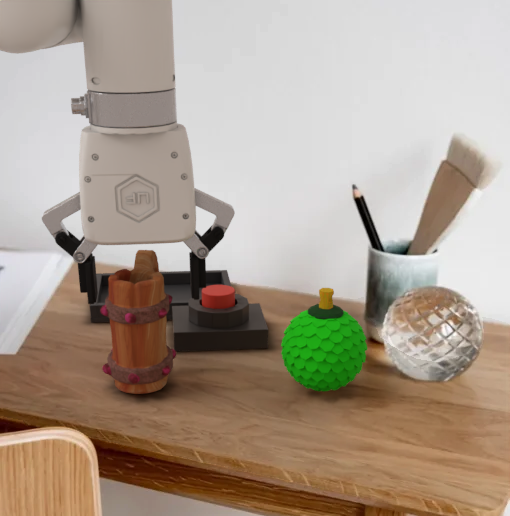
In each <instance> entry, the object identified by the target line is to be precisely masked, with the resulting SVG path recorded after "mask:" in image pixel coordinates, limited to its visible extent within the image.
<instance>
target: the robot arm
mask: <svg viewBox="0 0 510 516" xmlns="http://www.w3.org/2000/svg"><path fill="white" fill-rule="evenodd" d="M173 17H174V16H173V0H0V52H4V53H9V54H25V53H26V54H27V53H31V52H37V51H40V50H47V49H51V48H55V47H59V46H60V47H61V46H65V45H71V44H76V43H83V54H84V67H85V69H84V70H85V79H86V81H85V82H86V93H84V94H83V95H82V96H81V95H80V96H79V97H71V98H70V107H71V114H72V115H80V116H81V117H83V116H85V119H88V123H89V125H87V126H85V127H83V128H82V129H81V134H80V139H79V140H80V141H79V151H78V152H79V154H78V156H79V157H78V172H79V173H78V174H79V175H78V177H79V178H78V179H79V191H78V192H77V193H75V194H73V195H71V196H70V197H68V198H66V199H64V200H63V201H60V202H58V203H57V204H55V205H54V206H52V207H50V208H48V209H46V210H45V211H44V212H43V214H42V216H41V221H42V223H43V224H44V226H45V227H46V229H47V230H48V232H49V234H50V235H51V236H52V237H53V239H54V241H55V243H56V245H57V246H58V247H59V248H61V249H62V250H63V251H64V252H66V253H67V254H68V255H69V256H70V257H72V259H73V261H74V262H75V263H76V264H77V271H78V281H79V282H78V283H79V292H80V294H87V295H86V297H87V304H88V305H90V304H94V303H95V302H96V300H97V295H98V289H97V277H96V274H97V267H96V265H97V264H96V256H95V255H93V252H94V251H95V249H96V248H97V247H98V246H127V245H131V246H132V245H157V244H175V243H184V244H185V245H186V246H187V247H188V249H189V250H190V252H189V254H188V255H189V271H190V283H191V295H192V298H194V300H199V288H206V271H207V268H206V265H207V264H206V262H207V261H206V258H207V257H208V256H209V255H210V252H211V251H212V250H213V249H214V248H216V246H217V245H218V244H220V242H221V241H222V240H223V239H224V237H225V233H226V232H227V230H228V228H229V226H230V224H231V223H232V221H233V218H234V217H235V210H234V206H233V205H231V204H229V203H227V202H226V201H224V200H221V199H219V198H217V197H215V196H213V195H211V194H209V193H206V192H205V191H202V190H200V189H198V188H196V187H195V180H194V179H195V178H194V167H193V159H192V151H191V146H190V140H189V137H188V132H187V128H186V127H185V125H184V124H181V123H178V114H177V112H178V111H177V92H176V89H177V88H176V65H175V45H174V44H175V43H174V41H175V40H174V21H173ZM197 207H198V208H200V209H202V210H204V211H206V212H209V213H210V214H213V215H214V216H215V219H214V221H213V223H212V225H210V227H209V228H208V229H207V230H206V231H205V232H204V233H203V234H201V233H199V231H198V230H197V229H196V227H197ZM79 211H80V219H81V226H82V227H81V229H82V234H83V235H82V237H81V238H80V239H79V238H78V237H77V236H75V235H74V233H72V232H71V231H69V230H68V229H67V228H66V226H65V224H64V222H63V220H65V219H67V218H68V217H69V216H72V215H73V214H76V213H77V212H79Z"/></svg>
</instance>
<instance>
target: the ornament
mask: <svg viewBox="0 0 510 516" xmlns="http://www.w3.org/2000/svg"><path fill="white" fill-rule="evenodd" d="M334 294H335V291H334V288H331V287H321V288H320V289H318V295H319V302H318V303H316V304H314V305H312V306H310V307H309V308H308V309H306V310H303V311H301V312H299V314H298V315H296V316H294V317H293V318H292V319H291V320H290V321H289V323H290V324H288V326H287V327H286V328H285V330H284V331H283V335H284V336H283V337H282V338H281V343H280V344H281V345H280V347H281V352H280V354H281V357H282V360H283V366H284V367H285V369H286V371H287V372H288V373H289V375H290V377H291V378H293V380H294V381H295V382H296V383H299V384H300V385H301V386H303V387H304V388H306V389H307V390H309V389H311V390H313V391H315V392H329V391H338V390H339V389H340V388H342V387H344V388H345V387H346V386H347V385H348V384H349V383H351V382H353V381H355V378H356V376H357V375H360V373H361V371H362V369H363V364H364V363H365V364H366V358H367V354H366V351H368V344H367V342H366V341H367V337H366V335H365V331H364V330H363V327H362V325H360V323H359V321H358V320H356V318H354V317H353V316H352V315H351V314H349V312H348V311H346V310H344V309H342V308H341V307H340V306H338V305H336V304H334V301H333V296H334Z"/></svg>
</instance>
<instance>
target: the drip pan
mask: <svg viewBox="0 0 510 516" xmlns="http://www.w3.org/2000/svg"><path fill="white" fill-rule="evenodd" d="M159 272H160V273H161V274H162V275H163V277H164V292H165V293H167V294H169V295H171V296H172V302H171V304H170V305H169V311H168V313H167V314H166V318H167V321H173V319H172V306H188V300H189V299H191V298H192V295H191V283H190V270H177V271H176V270H174V271H173V270H171V271H159ZM114 274H115V272H105V273H104V272H103V273H101V272H100V273H96V277H97V289H98V295H97V300H96V302H95V303H94V304H89V314H90V315H89V316H90V323H110V318H108V317H107V316H104V315H102V314H101V312H100V309H101V307H102V306H103V305H105V300H106V298H107V296H108V295H109V281H108V278H109V276H110V275H114ZM210 285H227V286H231V287H232V284H231V279H230V276H229V272H228V270H227V269H215V270H214V269H212V270H206V286H210ZM202 289H203V288H199V294H202Z"/></svg>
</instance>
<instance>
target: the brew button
mask: <svg viewBox="0 0 510 516" xmlns="http://www.w3.org/2000/svg"><path fill="white" fill-rule="evenodd" d="M235 294H236V289H235V288H234V287H233V286H232V285H231V286H227V285H210V286H206V288H203V289H202V306H204V307H207V308H213V309H225V308H229V307H233V306H235Z"/></svg>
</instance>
